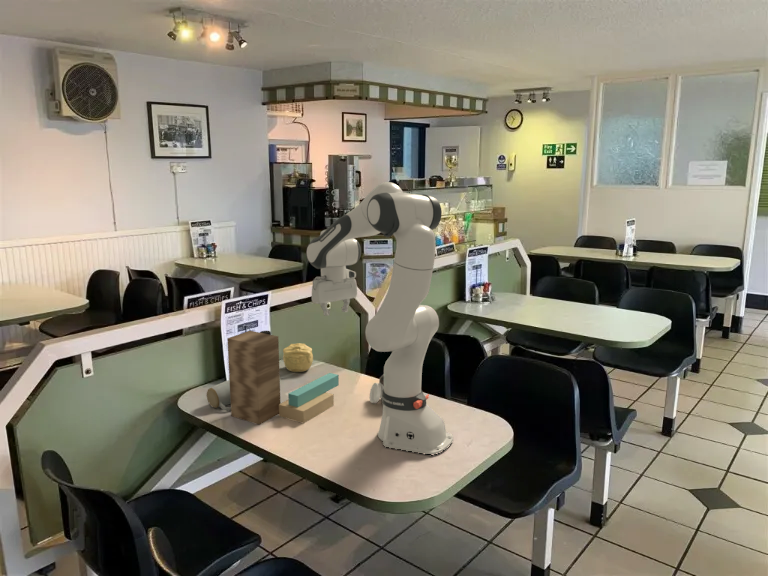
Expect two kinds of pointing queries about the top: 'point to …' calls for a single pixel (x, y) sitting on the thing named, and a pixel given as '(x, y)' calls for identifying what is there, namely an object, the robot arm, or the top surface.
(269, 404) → the walnut stand
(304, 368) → the sculpture
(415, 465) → the top surface
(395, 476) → the top surface
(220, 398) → the ceramic mug
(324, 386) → the teal carton
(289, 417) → the kraft parcel
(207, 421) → the top surface
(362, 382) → the top surface
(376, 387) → the spread jar
